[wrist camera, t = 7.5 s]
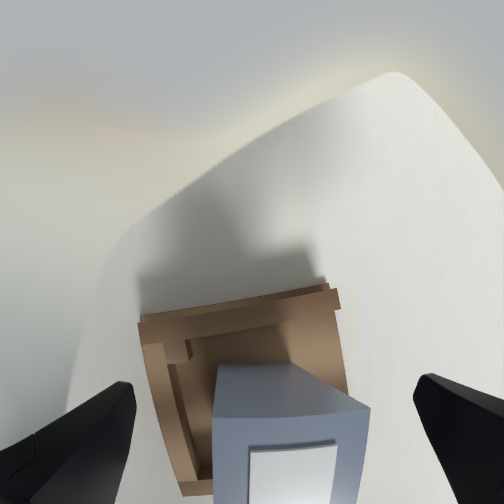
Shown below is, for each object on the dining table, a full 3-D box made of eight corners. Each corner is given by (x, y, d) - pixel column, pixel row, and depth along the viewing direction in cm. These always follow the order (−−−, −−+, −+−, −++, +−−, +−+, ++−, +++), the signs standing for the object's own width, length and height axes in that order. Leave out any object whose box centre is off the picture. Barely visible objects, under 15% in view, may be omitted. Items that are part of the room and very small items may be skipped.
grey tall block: (288, 426, 16) (353, 521, 6) (218, 427, 16) (215, 535, 6) (291, 361, 17) (373, 409, 7) (218, 361, 17) (211, 419, 7)
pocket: (352, 446, 17) (369, 461, 14) (182, 481, 15) (177, 502, 12) (326, 283, 19) (342, 277, 16) (141, 315, 17) (127, 314, 15)
